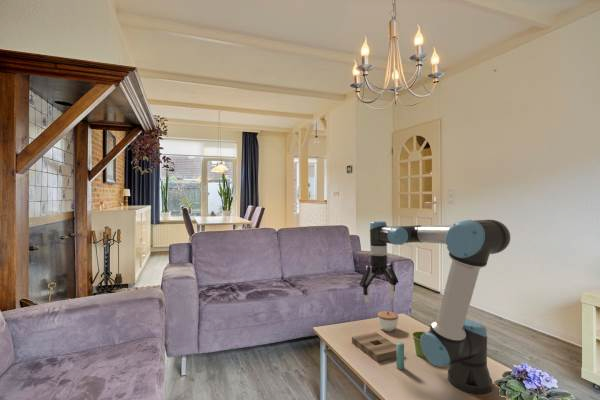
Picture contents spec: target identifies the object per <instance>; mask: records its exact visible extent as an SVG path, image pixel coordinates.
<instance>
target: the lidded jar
mask: <svg viewBox="0 0 600 400" xmlns="http://www.w3.org/2000/svg"><path fill="white" fill-rule="evenodd" d="M377 322H378V324H379V327H380V328H381V330H382V331H385V332H394V330H395V329H396V328H397V326H398V324H399V323H398V322H399V315H398V313H396V312H394V311H387V310H385V311H379V312H377Z"/></svg>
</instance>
